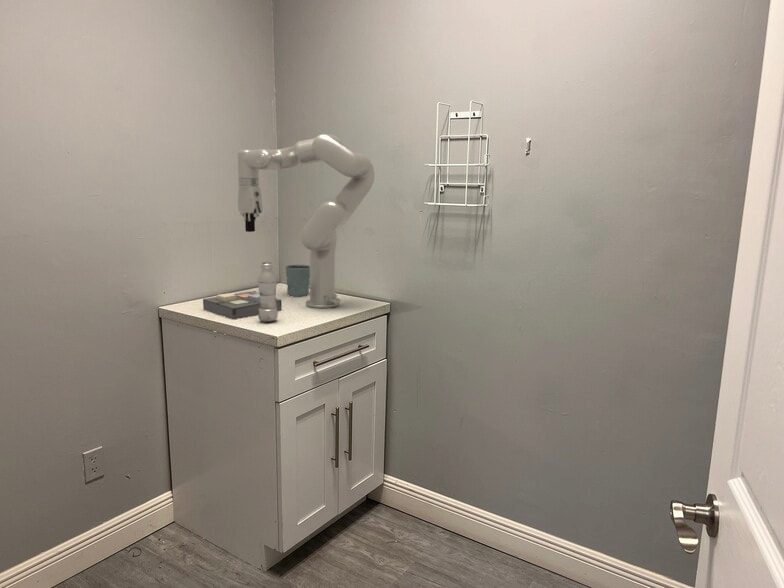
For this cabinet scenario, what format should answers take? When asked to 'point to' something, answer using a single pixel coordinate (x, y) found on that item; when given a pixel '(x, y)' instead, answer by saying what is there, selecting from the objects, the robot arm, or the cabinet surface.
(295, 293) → the teal cup
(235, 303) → the sage key
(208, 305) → the keypad
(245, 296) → the terracotta key
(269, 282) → the plastic bottle
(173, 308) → the cabinet surface
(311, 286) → the robot arm
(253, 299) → the slate key
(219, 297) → the sand key
